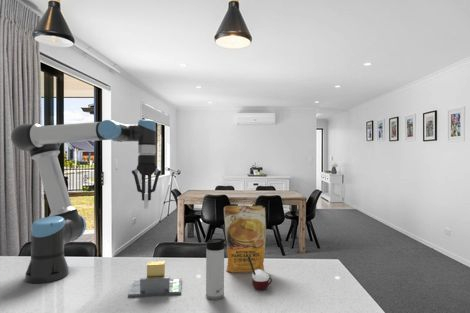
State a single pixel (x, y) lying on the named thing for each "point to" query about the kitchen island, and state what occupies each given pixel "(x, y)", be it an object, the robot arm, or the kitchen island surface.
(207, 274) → the travel mug
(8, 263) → the kitchen island surface
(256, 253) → the pancake mix bag
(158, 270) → the brushed brass block
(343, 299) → the kitchen island surface
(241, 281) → the kitchen island surface
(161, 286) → the gauge bed
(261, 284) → the cocoa
